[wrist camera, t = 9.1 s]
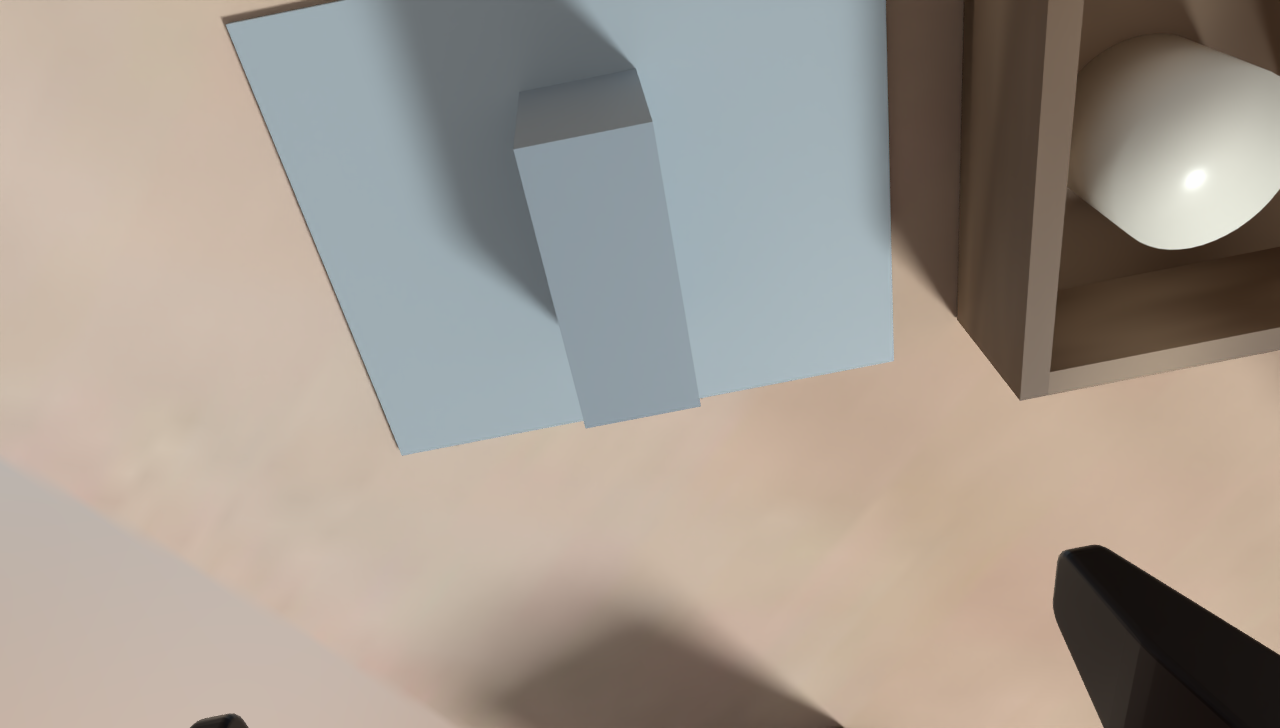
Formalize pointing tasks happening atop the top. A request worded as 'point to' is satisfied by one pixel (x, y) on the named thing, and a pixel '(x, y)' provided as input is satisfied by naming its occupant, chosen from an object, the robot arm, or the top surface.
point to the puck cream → (1175, 140)
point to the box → (1075, 231)
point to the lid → (586, 198)
